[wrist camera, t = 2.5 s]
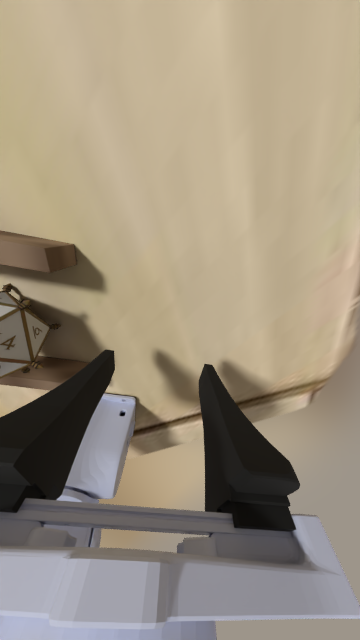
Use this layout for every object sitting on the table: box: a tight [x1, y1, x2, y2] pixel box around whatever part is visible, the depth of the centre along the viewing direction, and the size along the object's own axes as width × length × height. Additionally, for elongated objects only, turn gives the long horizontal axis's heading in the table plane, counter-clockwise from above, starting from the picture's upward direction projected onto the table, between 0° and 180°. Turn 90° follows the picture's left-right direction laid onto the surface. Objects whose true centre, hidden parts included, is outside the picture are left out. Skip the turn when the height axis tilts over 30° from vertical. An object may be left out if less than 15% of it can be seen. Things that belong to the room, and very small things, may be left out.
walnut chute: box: [0, 231, 89, 390], centre depth 14 cm, size 12×14×3 cm
